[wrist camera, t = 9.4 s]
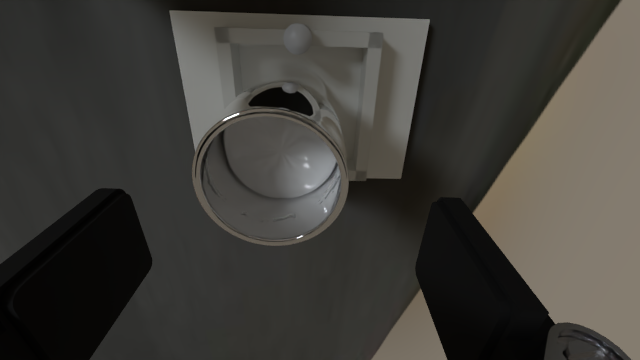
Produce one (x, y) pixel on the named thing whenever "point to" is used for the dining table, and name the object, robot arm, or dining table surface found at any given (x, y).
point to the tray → (322, 59)
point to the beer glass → (274, 161)
